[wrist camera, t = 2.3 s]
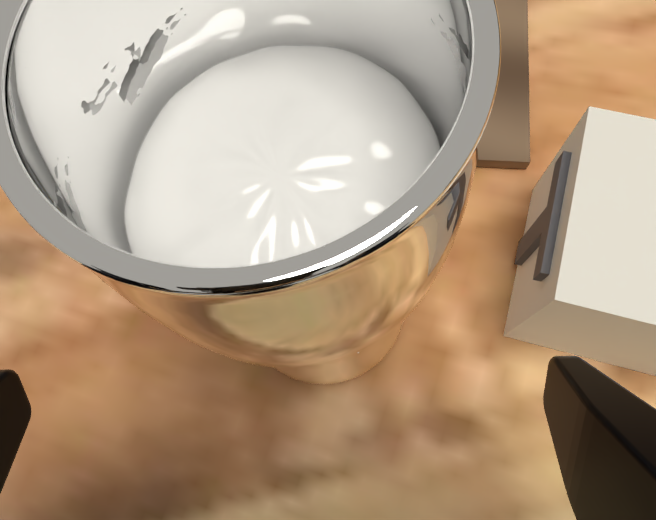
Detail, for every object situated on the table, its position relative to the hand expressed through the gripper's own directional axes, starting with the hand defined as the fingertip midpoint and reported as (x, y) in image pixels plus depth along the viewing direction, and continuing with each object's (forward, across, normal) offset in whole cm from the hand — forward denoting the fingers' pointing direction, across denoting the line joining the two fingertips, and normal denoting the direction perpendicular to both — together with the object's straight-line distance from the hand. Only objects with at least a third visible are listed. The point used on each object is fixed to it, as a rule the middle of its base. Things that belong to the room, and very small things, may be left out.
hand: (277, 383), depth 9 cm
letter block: (+11, -10, +5) cm, 16 cm away
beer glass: (+11, 0, +5) cm, 12 cm away
